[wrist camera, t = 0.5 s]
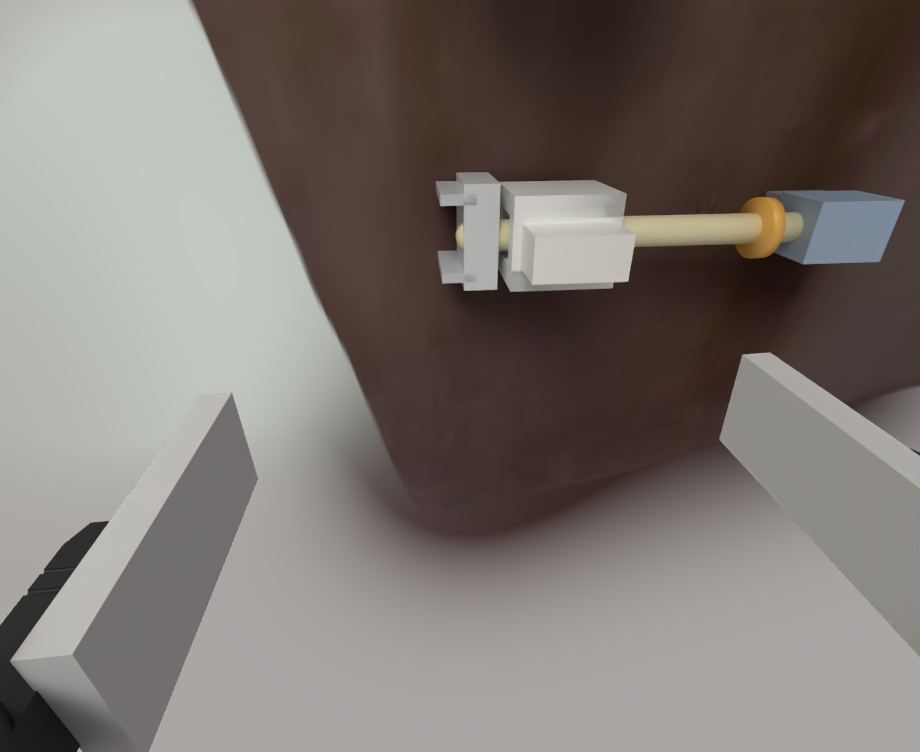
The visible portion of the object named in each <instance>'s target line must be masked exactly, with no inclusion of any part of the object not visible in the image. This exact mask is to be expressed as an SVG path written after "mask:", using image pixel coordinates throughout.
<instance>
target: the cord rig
mask: <svg viewBox="0 0 920 752" xmlns="http://www.w3.org/2000/svg"><path fill="white" fill-rule="evenodd" d="M500 189H501V184H500V183H499V182H498V181H497V180H496V179H495V178H494V177H493V176H492V175H490V174H489V173H488V172H466V173H456V181H437V182H436V193H437V196H438V200H439V203H440V206H457V230H456V241H457V250H456V251H438V263H439V268H440V274H441V279H442V283H462V285H463V289H464V291H472V290H497V280H498V251H508V245H509V222H510V219H500ZM904 202H905V200H901V199H896V198H891V197H886V196H881V195H876V194H871V193H866V192H861V191H856V190H852V191H824V190H803V191H766V194H765V197H755V198H752V199H750V200H749V201H747V202H746V203H745V204H744V205H743V207H742V208H741V210H740V211H739V213H734V214H693V215H651V216H624V217H623V223H622V226H623V227H625V228H626V229H628V230H630V231H631V232H633V233H635V234H636V238H635V244H634V247H649V246H683V245H717V244H735V246H736V249H737V251H738V252H739V254H740V255H741V256H743V257H745V258H765V257H768V256H769V255H771V254H772V253H773V252H774V253H777V254H779V255H781V256H784V257H786V258H789V259H791V260H794V261H796V262H798V263H801V264H826V263H857V262H880V260H881V257H882V255H883V252H884V250H885V248H886V245H887V243H888V240H889V238H890V235H891V233H892V231H893V228H894V226H895V223H896V221H897V219H898V216H899V214H900V211H901V209H902V207H903V204H904Z"/></svg>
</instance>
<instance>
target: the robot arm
mask: <svg viewBox="0 0 920 752" xmlns="http://www.w3.org/2000/svg"><path fill="white" fill-rule="evenodd" d="M719 440H720V441H721V442H722V443H723V444H724V445H725V446H726V447H727V448H728V449H729V451H730V452H731V453H732V454H733V455H734V456H735V457H736V458H737V459H738V460H739V461H740V462H741V464H742V465H743V466H744V467H746V469H747V470H748V471H749V472H750V473H751V474H752V475H753V477H754V478H755V479H756V480H757V481H758V482H759V483H760V484H761V485H762V486H763V487H764V488H765V490H766V491H767V492H768V493H769V494H770V495H771V496H772V497H773V498H774V499H775V500H776V501H777V502H778V504H779V505H780V506H781V507H782V508H783V509H784V510H785V511H786V512H787V513H788V514H789V515H790V517H791V518H792V519H793V520H794V521H795V522H796V523H797V524H798V525H799V526H800V527H801V528H802V530H803V531H804V532H805V533H806V534H807V535H808V536H809V537H810V538H811V539H812V540H813V542H814V543H815V544H816V545H817V546H818V547H819V548H820V549H821V550H822V551H823V552H824V553H825V554H826V556H828V558H829V559H830V560H831V561H832V562H833V563H834V564H835V565H836V566H837V568H838V569H839V570H840V571H841V572H842V573H843V574H844V575H845V576H846V577H847V578H848V579H849V581H850V582H851V583H852V584H853V585H854V586H855V587H856V588H857V589H858V590H859V591H860V592H861V594H863V596H864V597H865V598H866V599H867V600H868V601H869V602H870V603H871V604H872V605H873V607H874V608H875V609H876V610H877V611H878V612H879V613H880V614H881V615H882V616H883V617H884V618H885V620H886V621H887V622H888V623H889V624H890V625H891V626H892V627H893V628H894V629H895V630H896V631H897V633H899V635H900V636H901V637H902V638H903V639H904V640H905V641H906V642H907V643H908V644H909V646H910V647H912V649H913V650H914V651H915V652H916V653H917V654H918V655H919V656H920V453H919V452H917V451H915V450H912V449H909V448H908V447H906V446H905V445H903V444H902V443H901V442H899V441H898V440H896V439H895V438H893V437H892V436H890V435H889V434H887V433H886V432H885V431H883V430H882V429H880V428H879V427H877V426H876V425H875V424H873V423H872V422H870V421H869V420H867V419H866V418H864V417H863V416H861V415H860V414H859V413H857V412H856V411H854V410H853V409H851V408H850V407H848V406H847V405H846V404H844V403H843V402H841V401H840V400H838V399H837V398H835V397H834V396H832V395H831V394H830V393H828V392H827V391H825V390H824V389H822V388H821V387H819V386H818V385H817V384H815V383H814V382H812V381H811V380H809V379H808V378H806V377H805V376H804V375H802V374H801V373H799V372H798V371H796V370H795V369H793V368H792V367H790V366H789V365H788V364H786V363H785V362H783V361H782V360H780V359H779V358H777V357H776V356H775V355H773V354H772V353H758V354H744V355H742V358H741V362H740V366H739V369H738V373H737V377H736V380H735V384H734V388H733V391H732V395H731V399H730V402H729V406H728V410H727V413H726V417H725V420H724V424H723V428H722V431H721V435H720V439H719ZM257 480H258V477H257V474H256V471H255V468H254V464H253V461H252V458H251V454H250V451H249V448H248V444H247V441H246V438H245V434H244V431H243V428H242V424H241V421H240V418H239V415H238V411H237V408H236V405H235V401H234V398H233V394H232V393H231V392H230V393H217V394H203V395H199V397H198V398H197V400H196V401H195V402H194V404H193V405H192V407H191V408H190V409H189V411H188V412H187V414H186V415H185V416H184V418H183V419H182V421H181V422H180V423H179V425H178V426H177V428H176V429H175V430H174V432H173V433H172V435H171V436H170V437H169V439H168V440H167V442H166V443H165V444H164V446H163V447H162V449H161V450H160V451H159V453H158V454H157V456H156V457H155V458H154V460H153V461H152V463H151V464H150V465H149V467H148V468H147V470H146V471H145V472H144V474H143V475H142V477H141V478H140V479H139V481H138V482H137V484H136V485H135V487H134V488H133V489H132V491H131V492H130V493H129V495H128V496H127V498H126V499H125V500H124V502H123V503H122V505H121V506H120V508H119V509H118V510H117V512H116V513H115V514H114V516H113V517H112V519H111V520H110V521H105V522H93V523H90V524H89V525H87V526H86V527H85V528H84V529H83V530H81V531H80V532H79V533H77V534H76V535H75V536H74V537H72V538H71V539H70V540H69V541H67V542H66V543H65V544H64V545H63V546H62V547H61V548H60V550H59V551H58V552H57V553H56V555H55V556H54V557H53V559H52V560H51V561H50V562H49V564H48V565H47V566H46V568H45V569H44V574H40V575H39V576H38V578H37V579H36V580H35V582H34V583H33V584H32V586H31V587H30V588H29V589H28V594H27V595H25V596H23V597H22V598H21V599H20V601H19V602H18V603H17V605H16V606H15V607H14V608H13V610H12V611H11V612H10V614H9V615H8V616H7V617H6V619H5V620H4V622H3V623H2V624H1V625H0V752H77V750H78V748H80V749H81V750H82V751H83V752H149V750H150V747H151V745H152V742H153V740H154V737H155V735H156V732H157V730H158V727H159V724H160V722H161V720H162V717H163V715H164V712H165V710H166V707H167V705H168V702H169V699H170V697H171V695H172V692H173V690H174V687H175V684H176V682H177V679H178V677H179V675H180V672H181V670H182V667H183V664H184V662H185V660H186V657H187V655H188V652H189V649H190V647H191V645H192V642H193V639H194V637H195V635H196V632H197V629H198V627H199V625H200V622H201V619H202V617H203V615H204V612H205V610H206V607H207V605H208V602H209V600H210V597H211V595H212V592H213V590H214V587H215V585H216V582H217V580H218V577H219V575H220V572H221V570H222V567H223V564H224V562H225V559H226V557H227V555H228V552H229V550H230V547H231V545H232V542H233V540H234V537H235V535H236V532H237V530H238V527H239V525H240V522H241V520H242V517H243V515H244V512H245V510H246V507H247V505H248V502H249V500H250V497H251V495H252V492H253V490H254V487H255V485H256V482H257Z"/></svg>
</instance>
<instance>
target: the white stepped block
mask: <svg viewBox="0 0 920 752" xmlns="http://www.w3.org/2000/svg"><path fill="white" fill-rule="evenodd" d="M499 183H500V184H501V189H500V219H510V222H509V245H508V251H498V269H499V271H500V273H501V275H502V277H503V279H504V281H505V283H506V285H507V286H508V288H509V290H510V292H521V291H549V290H577V289H605V288H613V283H614V282H628V280H629V274H630V268H631V262H632V256H633V250H634V244H635V238H636V234H635V233H633V232H631V231H630V230H628V229H626V228H625V227H623V226H622V223H623V217H624V210H625V203H626V197H627V194H626V193H624V192H621V191H619V190H617V189H614V188H612V187H610V186H607V185H605V184H603V183H600V182H598V181H596V180H575V181H521V182H499Z"/></svg>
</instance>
